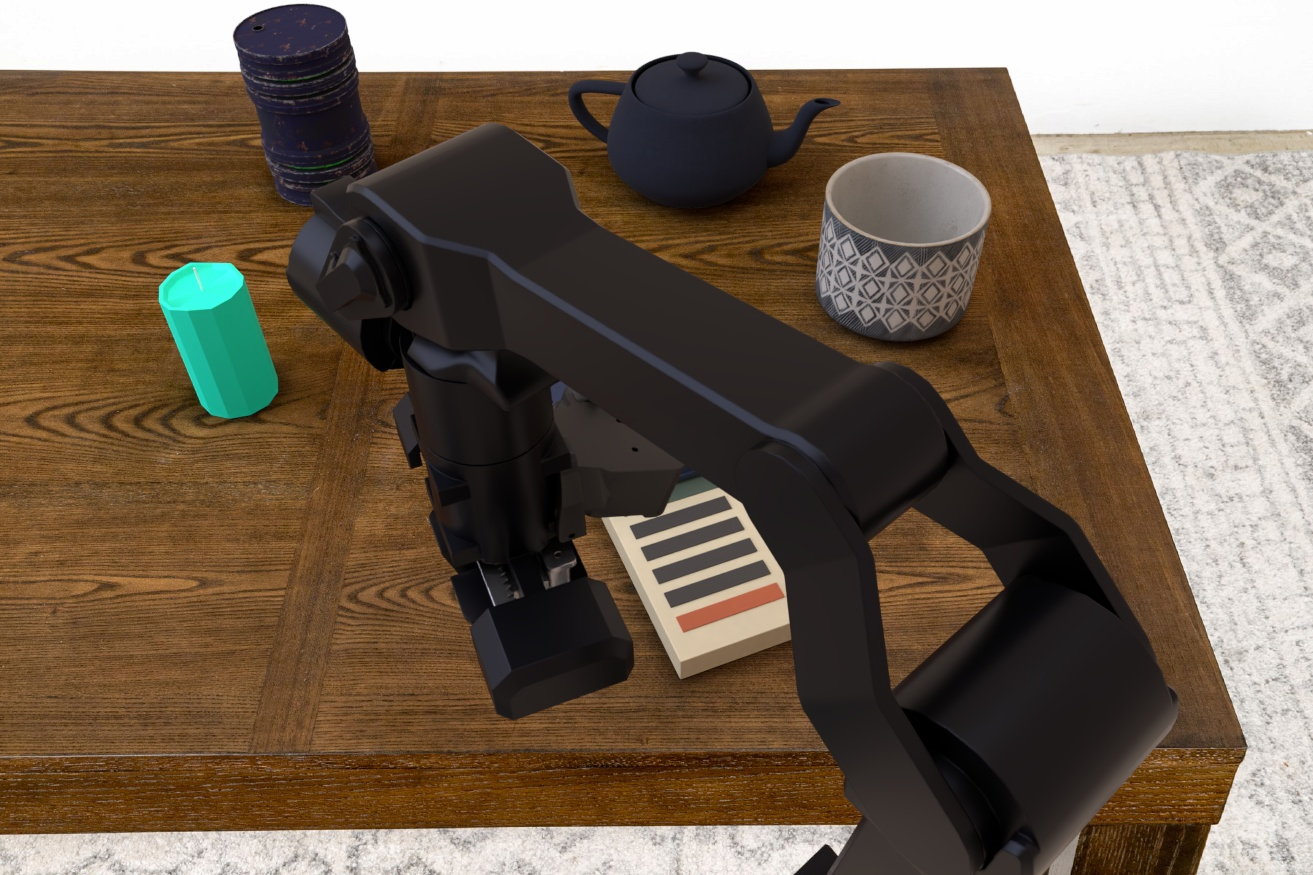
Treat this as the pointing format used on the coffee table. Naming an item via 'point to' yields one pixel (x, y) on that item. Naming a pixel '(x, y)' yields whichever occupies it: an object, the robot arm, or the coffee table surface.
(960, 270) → the planter
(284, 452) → the coffee table surface
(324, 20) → the dark blue barrel
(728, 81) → the teapot
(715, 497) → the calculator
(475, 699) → the coffee table surface
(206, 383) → the candle
